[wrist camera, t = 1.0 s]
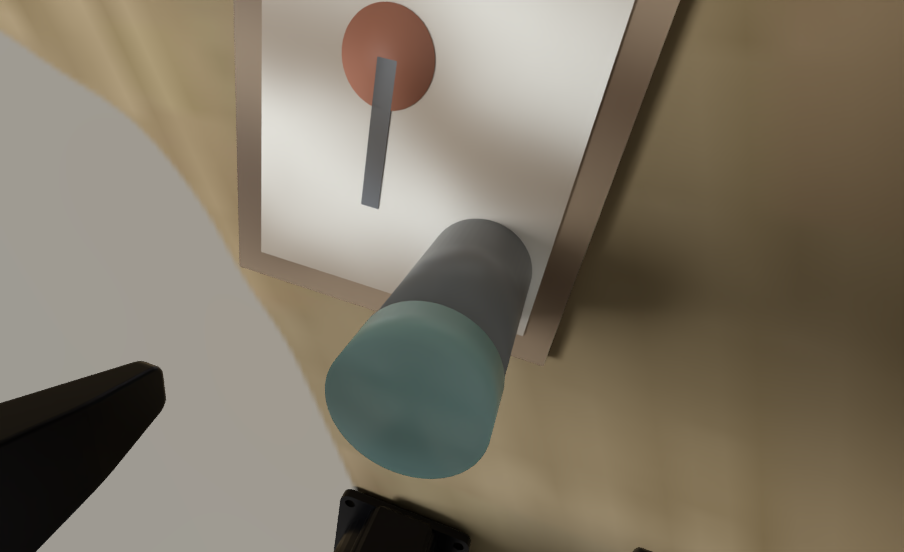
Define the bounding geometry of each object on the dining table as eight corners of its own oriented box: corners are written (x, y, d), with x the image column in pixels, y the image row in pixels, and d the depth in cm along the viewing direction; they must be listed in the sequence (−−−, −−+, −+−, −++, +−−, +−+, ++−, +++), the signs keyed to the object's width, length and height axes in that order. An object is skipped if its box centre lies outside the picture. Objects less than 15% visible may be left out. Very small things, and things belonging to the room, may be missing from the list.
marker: (517, 328, 16) (469, 500, 10) (420, 296, 17) (320, 443, 11) (547, 235, 14) (512, 375, 8) (438, 203, 15) (331, 315, 9)
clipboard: (544, 356, 17) (537, 400, 15) (249, 260, 19) (206, 287, 17) (907, -621, 8) (1024, -872, 6) (238, -639, 9) (135, -834, 7)
